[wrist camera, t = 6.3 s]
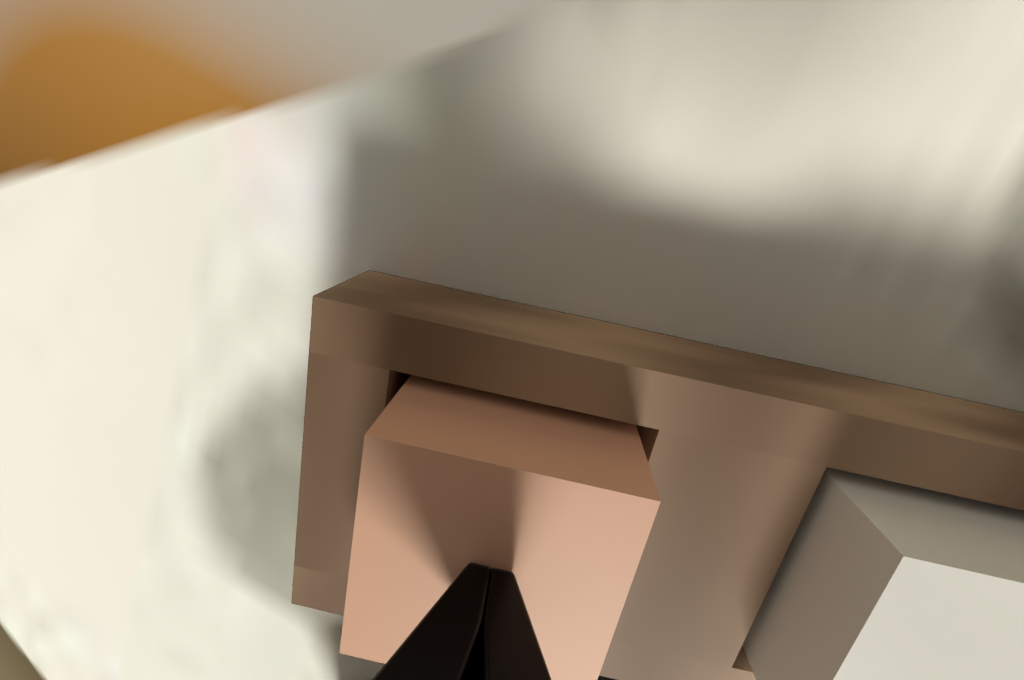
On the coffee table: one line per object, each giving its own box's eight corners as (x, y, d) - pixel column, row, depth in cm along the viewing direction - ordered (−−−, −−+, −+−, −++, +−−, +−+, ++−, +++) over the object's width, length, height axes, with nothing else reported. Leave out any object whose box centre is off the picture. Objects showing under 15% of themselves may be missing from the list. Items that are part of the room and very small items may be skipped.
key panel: (1075, 424, 12) (1236, 498, 9) (924, 657, 15) (1014, 772, 12) (368, 270, 12) (313, 296, 10) (342, 523, 15) (291, 603, 12)
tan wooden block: (627, 399, 12) (660, 501, 8) (577, 561, 13) (586, 711, 10) (426, 354, 12) (364, 435, 8) (400, 521, 13) (339, 652, 10)
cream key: (999, 481, 12) (1215, 626, 8) (904, 636, 13) (1045, 820, 9) (791, 435, 12) (903, 556, 8) (721, 594, 13) (787, 758, 9)
